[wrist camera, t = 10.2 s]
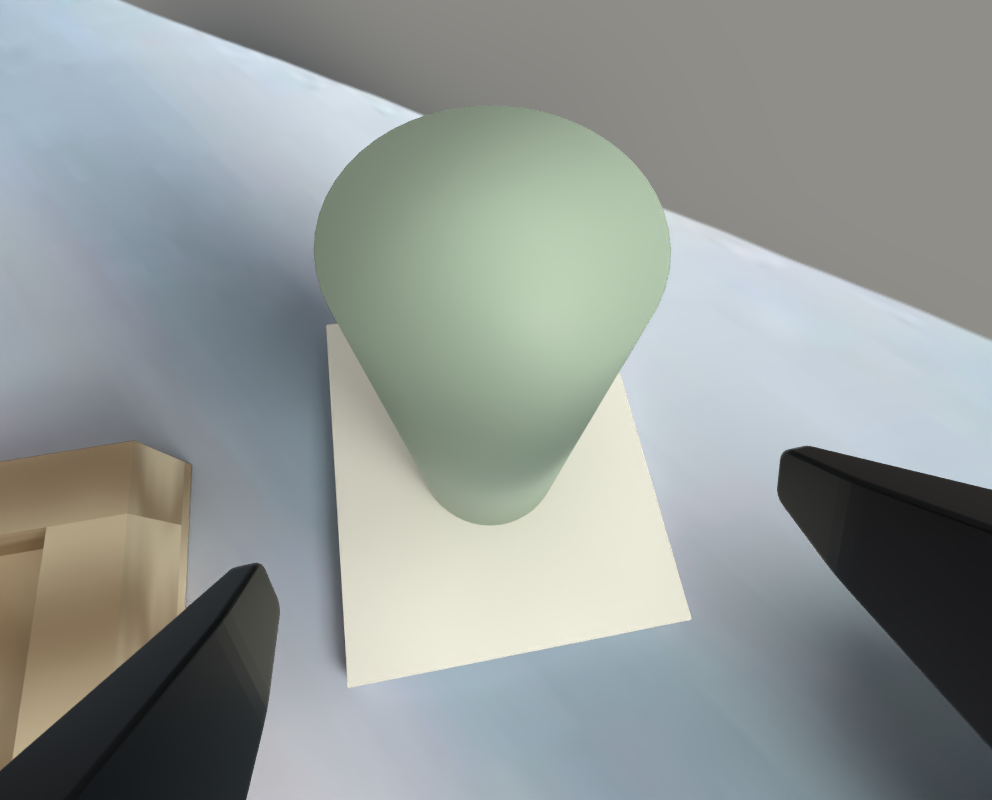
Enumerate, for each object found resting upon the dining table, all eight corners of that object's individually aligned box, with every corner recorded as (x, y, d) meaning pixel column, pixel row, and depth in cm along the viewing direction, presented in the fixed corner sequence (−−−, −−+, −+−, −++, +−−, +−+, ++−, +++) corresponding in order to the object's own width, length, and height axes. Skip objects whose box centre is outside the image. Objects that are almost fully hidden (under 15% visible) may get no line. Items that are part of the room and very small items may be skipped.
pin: (530, 546, 18) (614, 454, 6) (401, 495, 19) (244, 318, 7) (573, 422, 20) (705, 158, 8) (454, 378, 21) (407, 72, 8)
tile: (681, 617, 18) (691, 619, 17) (355, 682, 17) (347, 688, 16) (590, 297, 23) (594, 285, 22) (333, 336, 22) (326, 325, 21)
